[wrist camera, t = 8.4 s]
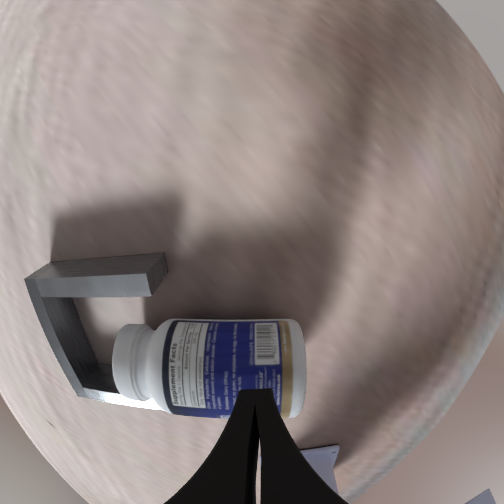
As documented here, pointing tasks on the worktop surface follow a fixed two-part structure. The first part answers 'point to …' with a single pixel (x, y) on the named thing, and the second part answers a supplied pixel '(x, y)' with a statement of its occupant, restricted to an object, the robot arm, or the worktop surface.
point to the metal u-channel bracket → (67, 320)
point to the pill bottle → (211, 364)
